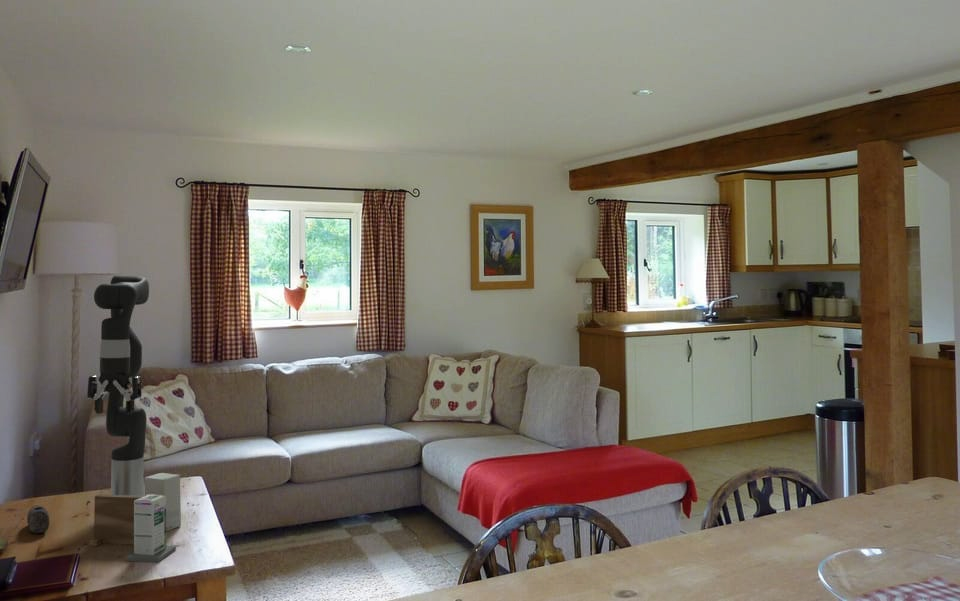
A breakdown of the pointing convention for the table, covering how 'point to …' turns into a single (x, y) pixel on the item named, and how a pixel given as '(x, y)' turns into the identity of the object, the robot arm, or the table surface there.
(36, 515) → the perforated stone tool
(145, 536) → the syrup box
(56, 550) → the table surface
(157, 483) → the skincare box
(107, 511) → the brown wooden standing panel
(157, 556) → the mat
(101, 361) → the robot arm
